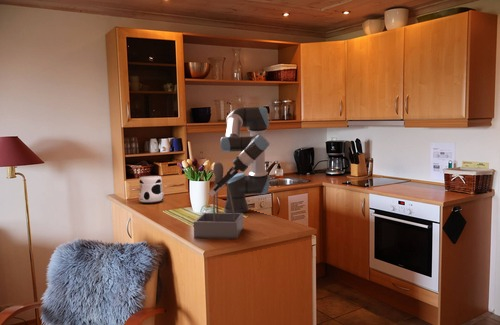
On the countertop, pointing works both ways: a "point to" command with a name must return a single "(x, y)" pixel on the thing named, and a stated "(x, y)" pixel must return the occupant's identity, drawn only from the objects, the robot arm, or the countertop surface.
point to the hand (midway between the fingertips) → (212, 193)
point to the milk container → (151, 189)
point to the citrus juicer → (218, 176)
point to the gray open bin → (218, 226)
